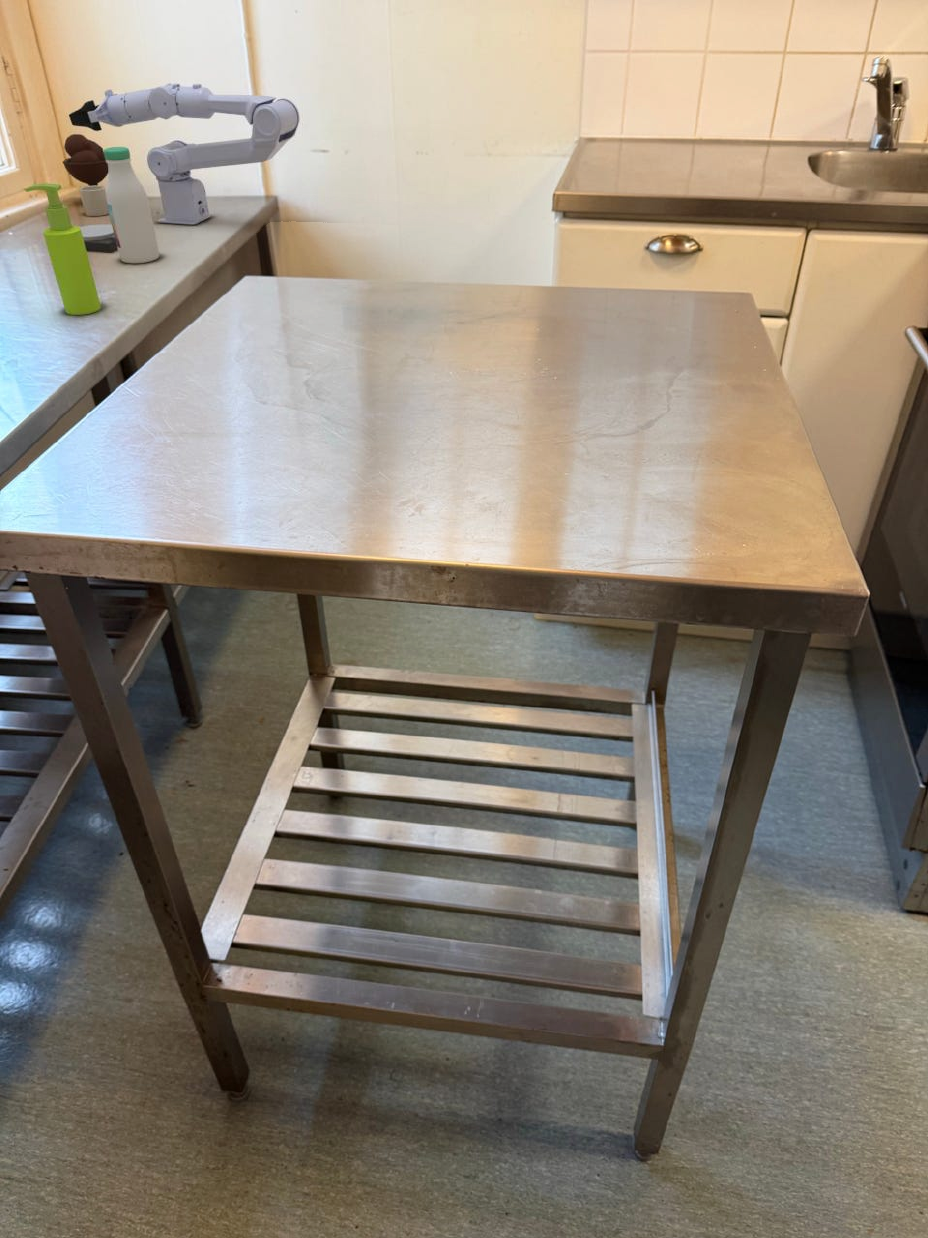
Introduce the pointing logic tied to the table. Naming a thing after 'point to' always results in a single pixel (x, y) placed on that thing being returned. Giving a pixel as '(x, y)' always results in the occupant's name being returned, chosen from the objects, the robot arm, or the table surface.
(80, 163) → the ice cream bowl
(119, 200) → the milk bottle
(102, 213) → the light grey cup
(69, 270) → the soap dispenser
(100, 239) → the scale
